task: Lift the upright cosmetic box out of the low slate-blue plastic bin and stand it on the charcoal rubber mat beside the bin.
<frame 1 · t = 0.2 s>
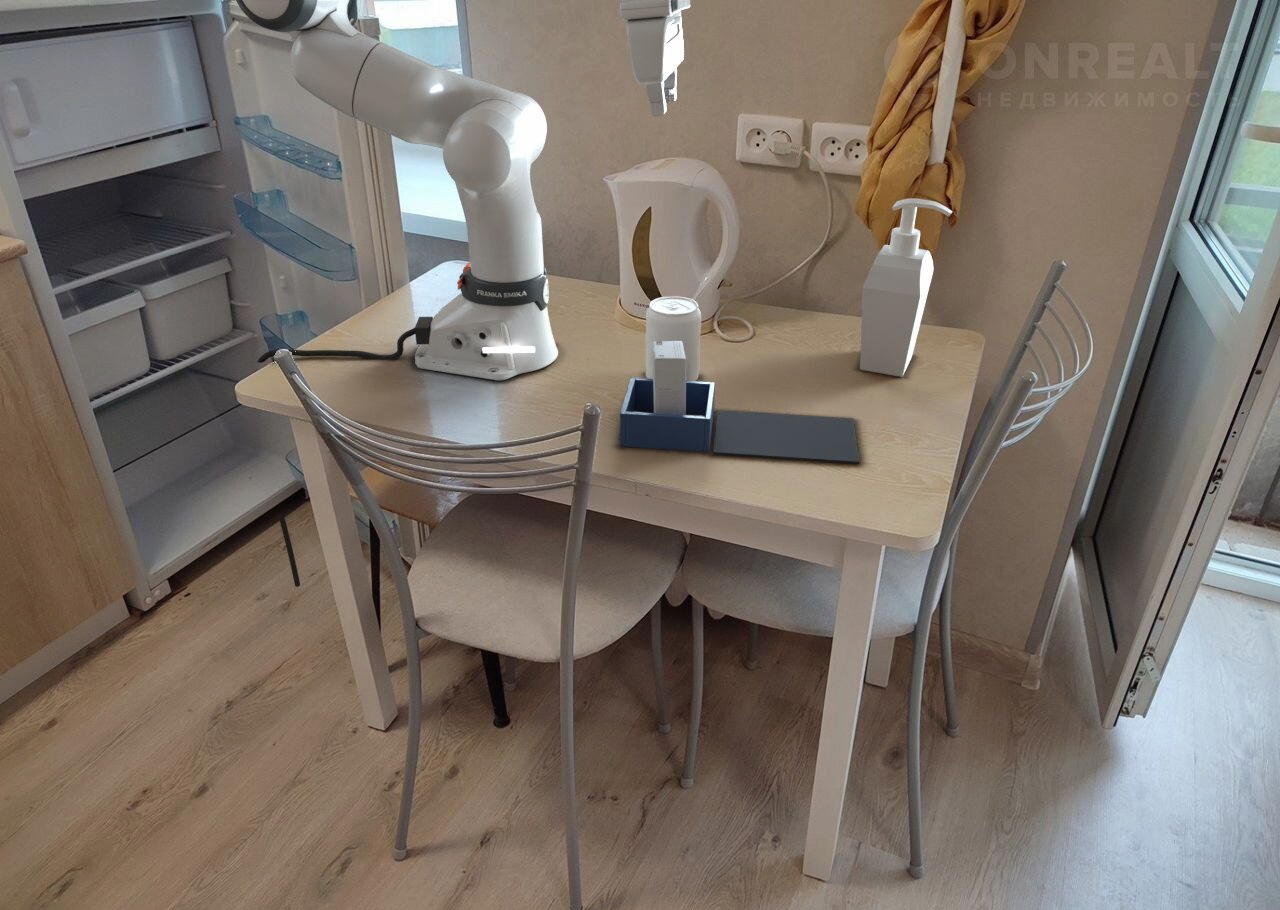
hand: (664, 108, 128), 39 cm above the table, tool pointing down, fingers open, 8 cm apart
bin: (668, 429, 130), on the table
soap bottle: (891, 364, 149), on the table
mat: (784, 437, 128), on the table
cosmetic box: (668, 430, 130), resting in bin
beverage can: (672, 379, 144), on the table
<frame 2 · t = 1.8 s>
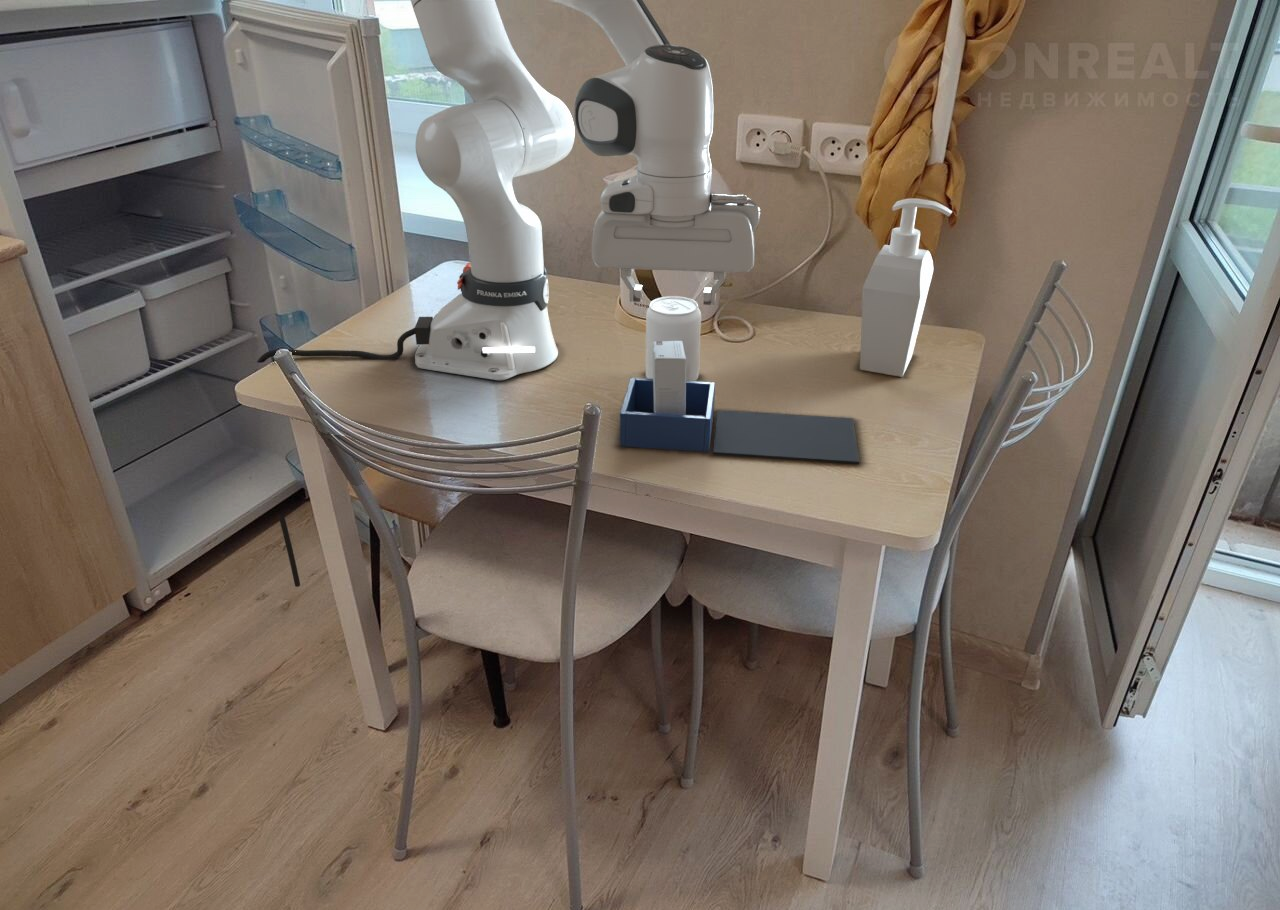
hand: (672, 301, 120), 19 cm above the table, tool pointing down, fingers open, 8 cm apart
nothing on the table moved.
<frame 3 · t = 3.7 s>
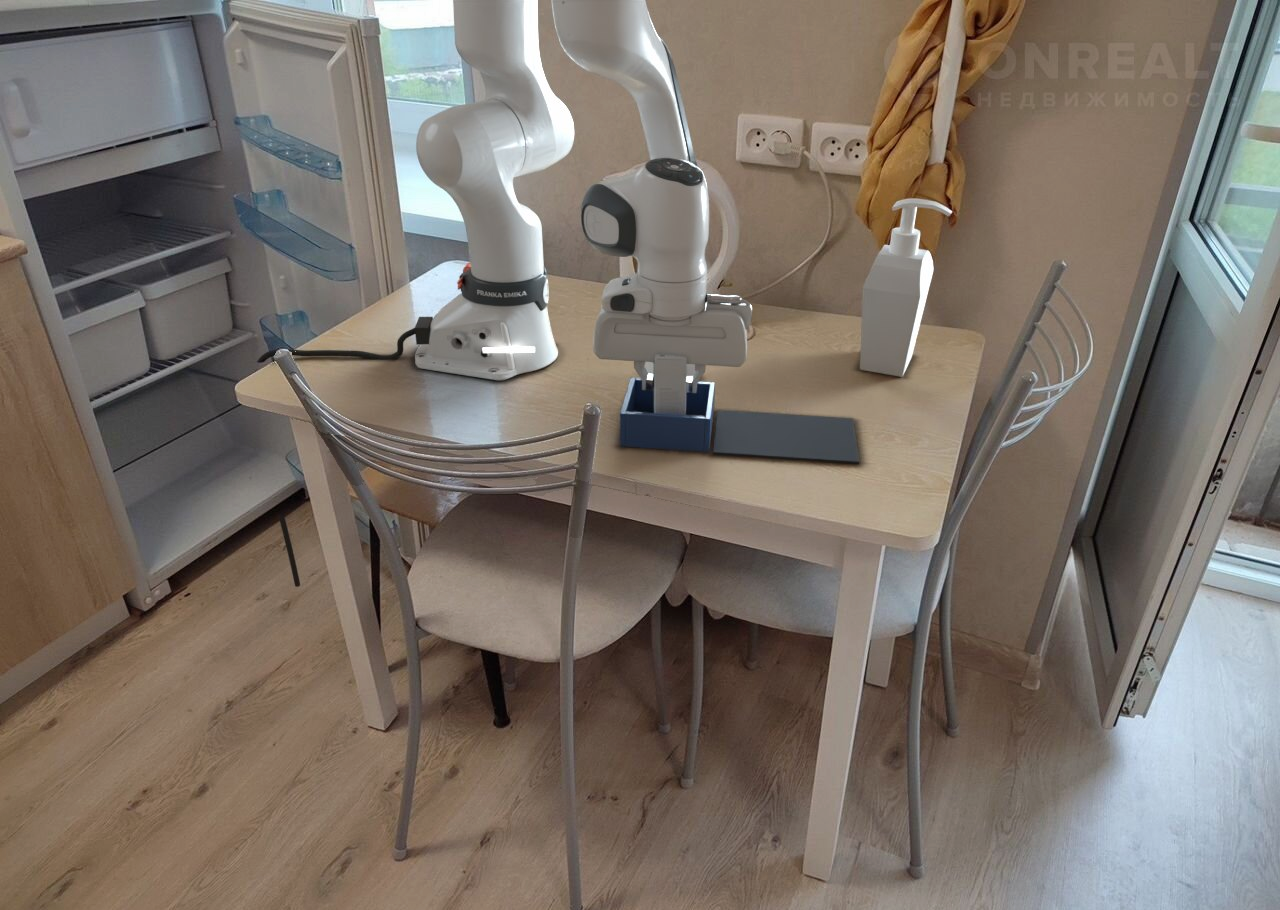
hand: (669, 389, 127), 6 cm above the table, tool pointing down, fingers closed on cosmetic box, 4 cm apart
cosmetic box: (668, 430, 130), resting in bin, touching gripper
everything else where it was.
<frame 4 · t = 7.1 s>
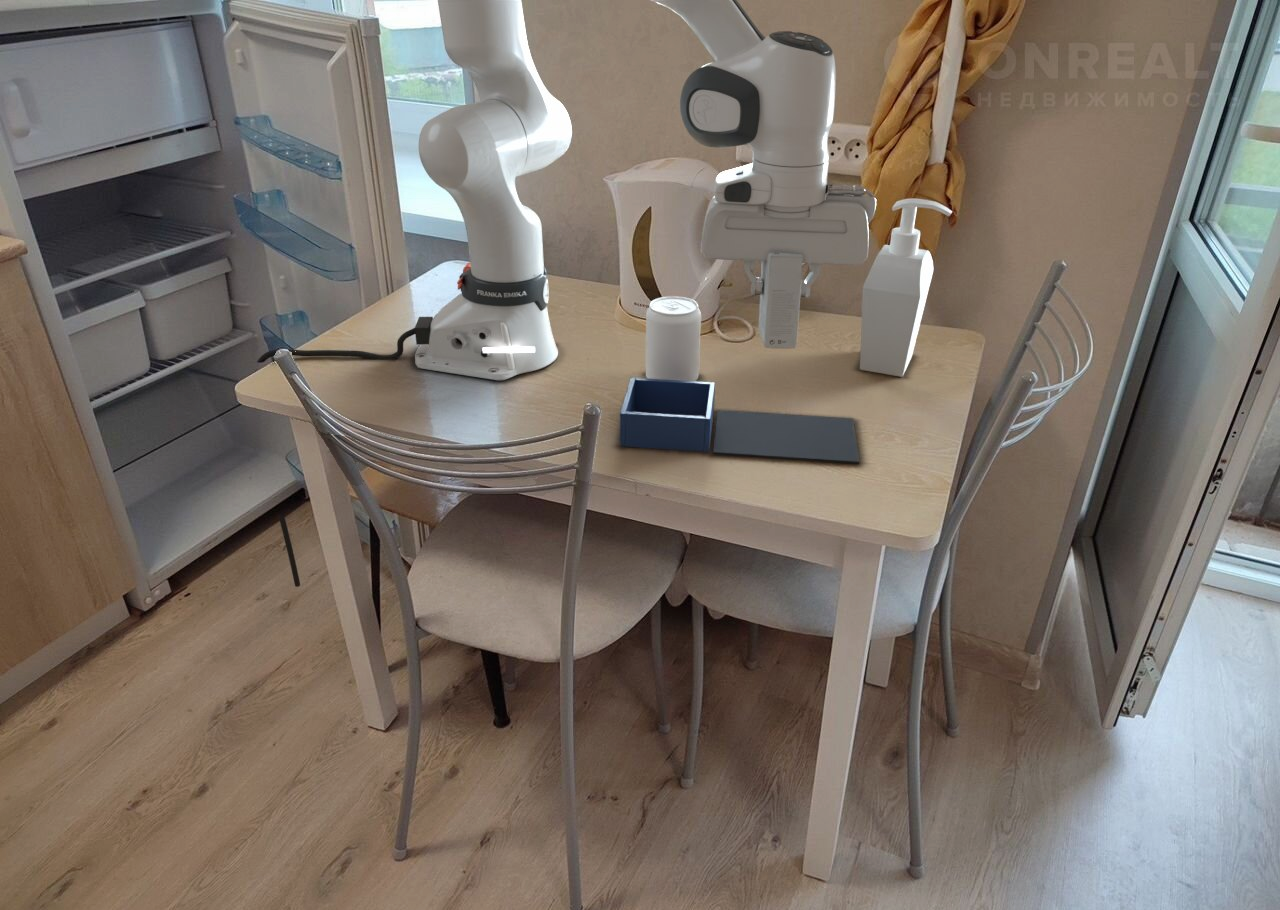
hand: (779, 294, 118), 20 cm above the table, tool pointing down, fingers closed on cosmetic box, 4 cm apart
cosmetic box: (775, 340, 121), point 14 cm above the table, touching gripper
everything else where it was.
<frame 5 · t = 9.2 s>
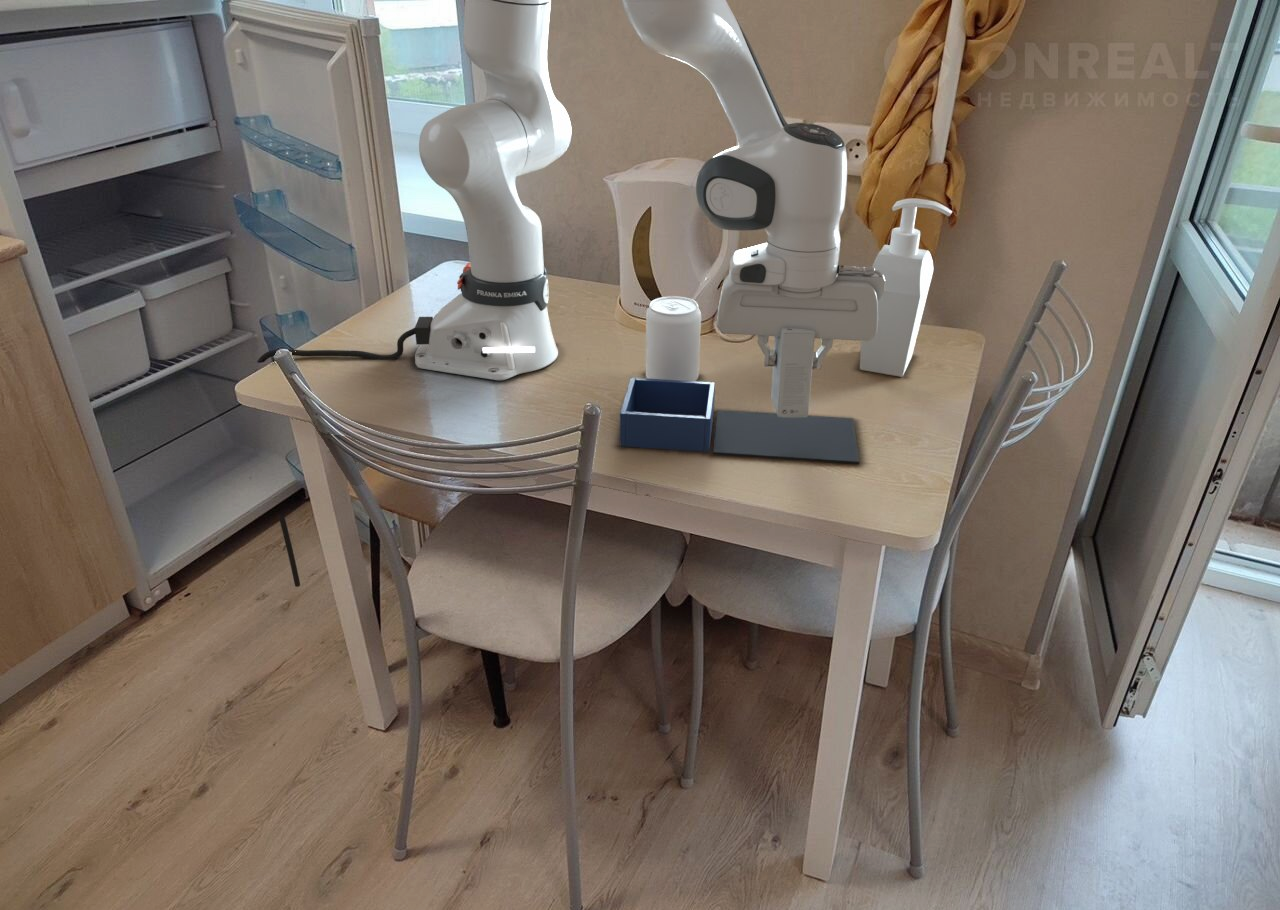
hand: (791, 365, 123), 11 cm above the table, tool pointing down, fingers closed on cosmetic box, 4 cm apart
cosmetic box: (787, 408, 126), point 4 cm above the table, touching gripper
everything else where it was.
when the fingers open (6 cm above the table, at t = 10.6 s): cosmetic box stays where it is, resting on mat.
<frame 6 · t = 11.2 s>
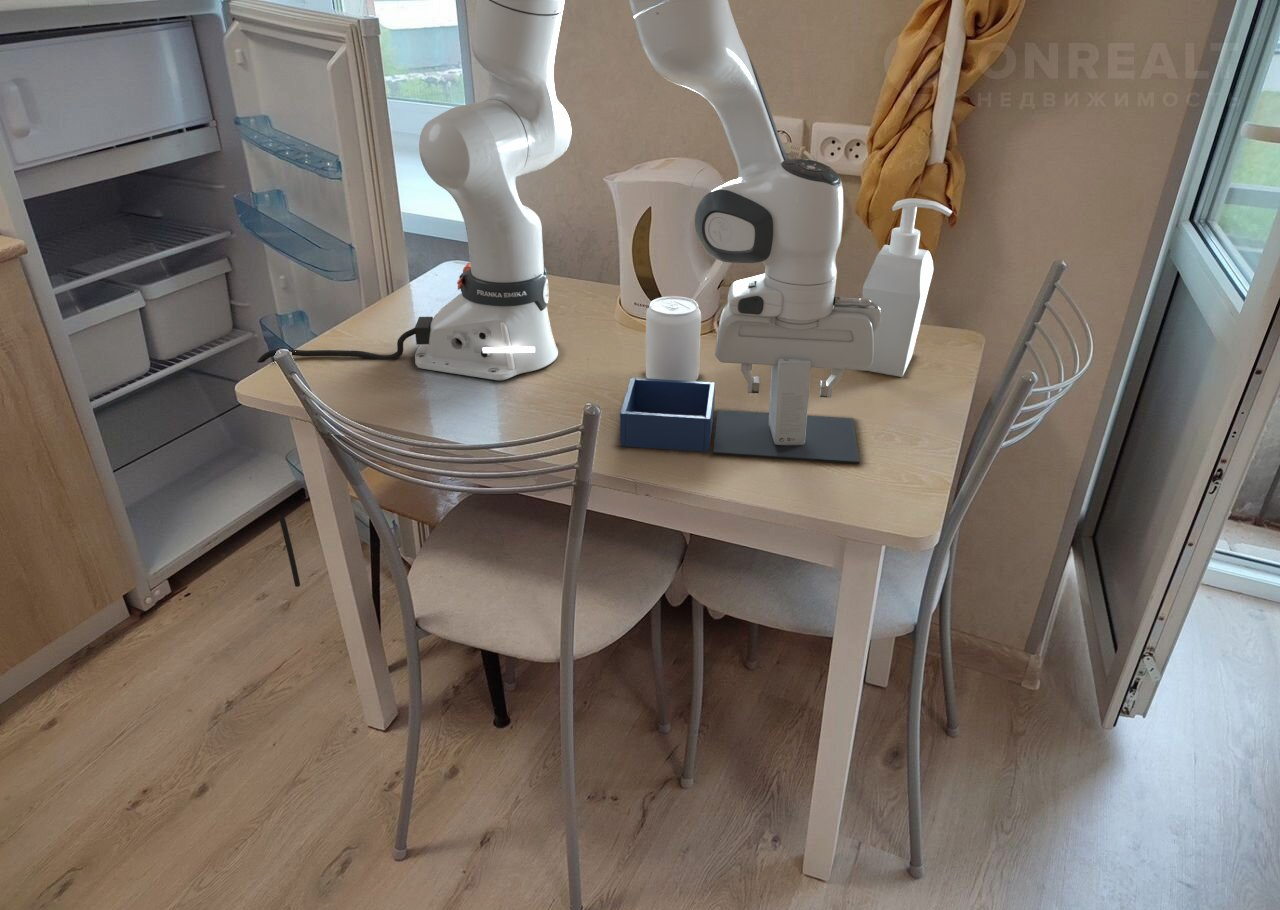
hand: (788, 393, 125), 7 cm above the table, tool pointing down, fingers open, 8 cm apart
cosmetic box: (784, 435, 128), resting on mat
everything else where it was.
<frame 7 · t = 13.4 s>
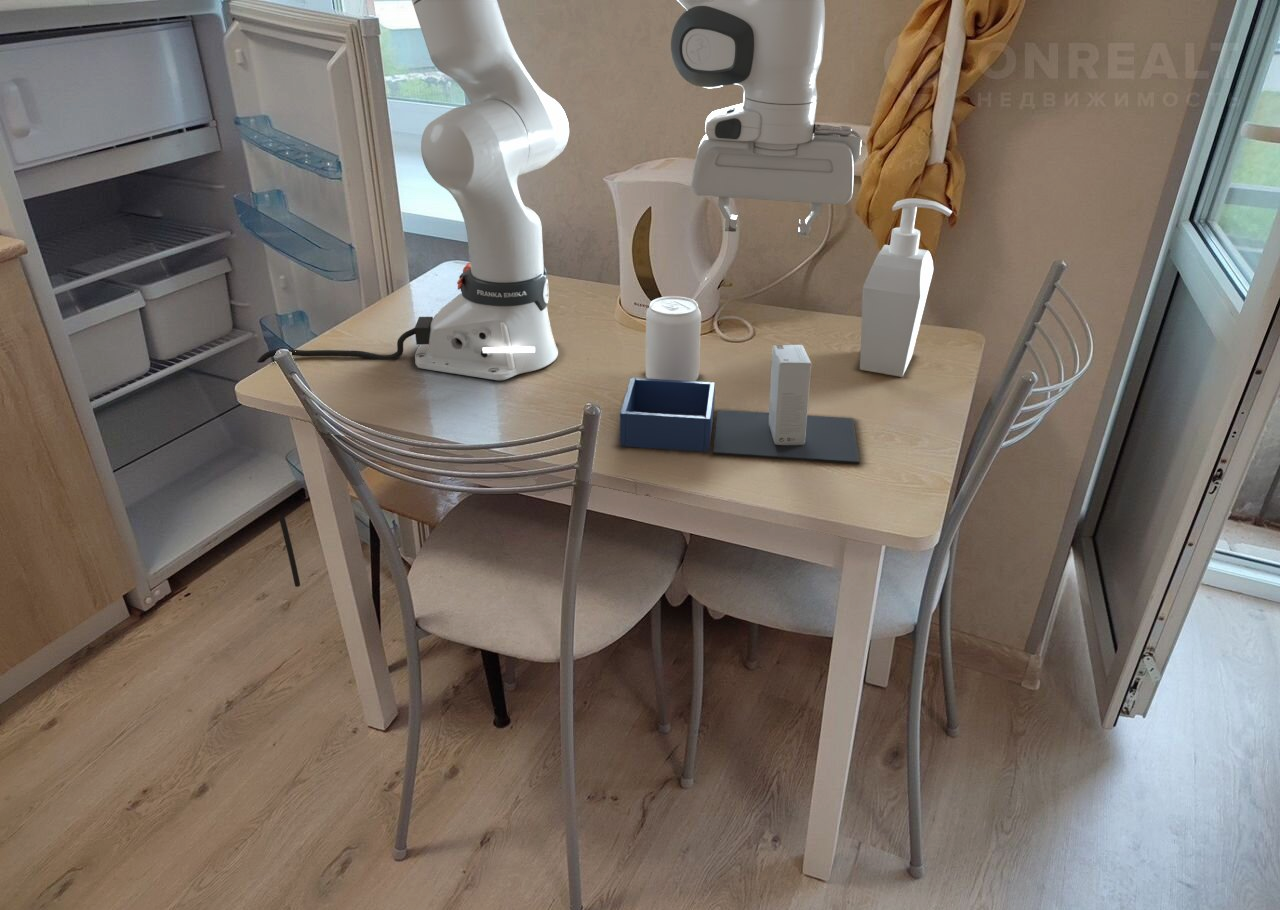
hand: (766, 232, 122), 26 cm above the table, tool pointing down, fingers open, 8 cm apart
nothing on the table moved.
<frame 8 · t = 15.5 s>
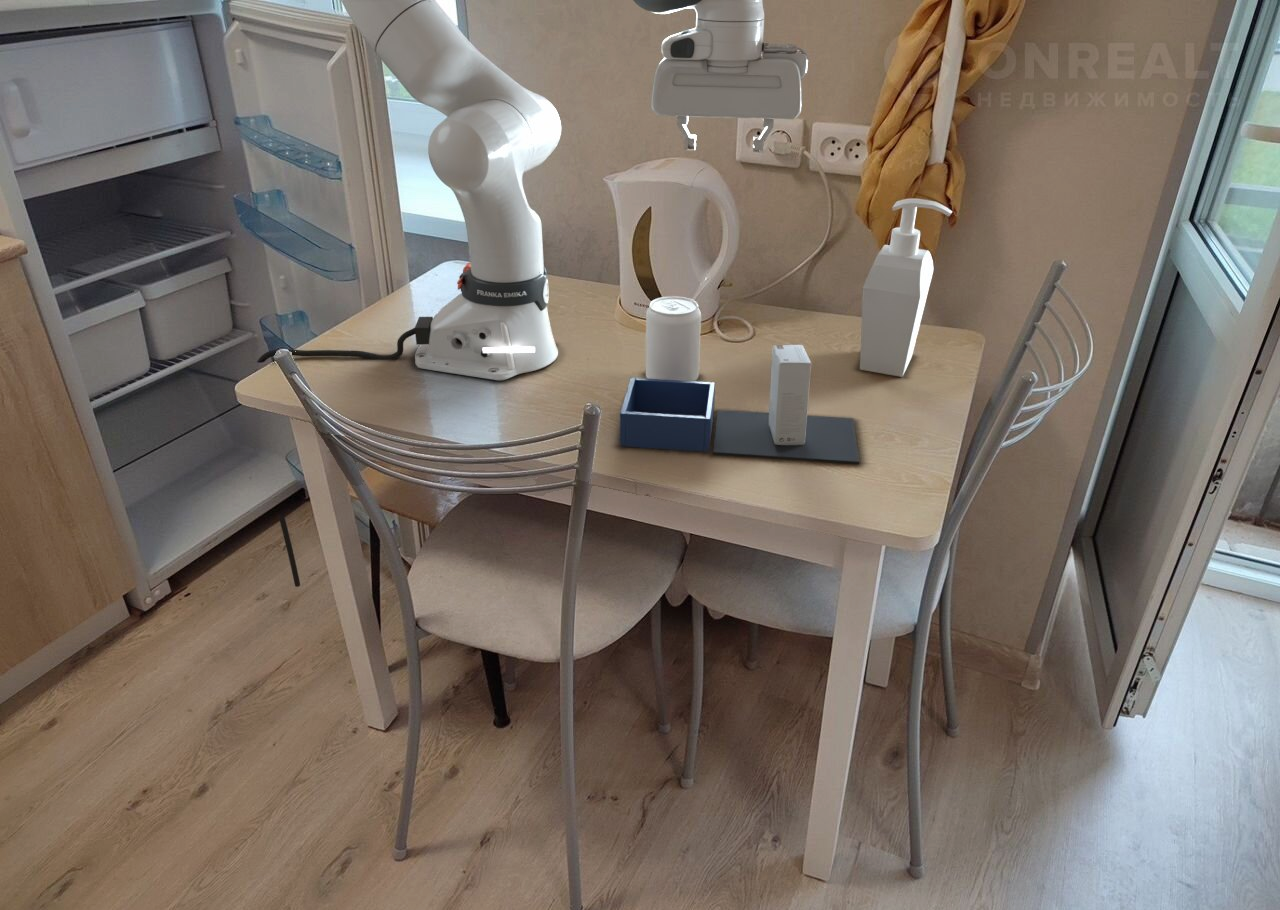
hand: (723, 150, 130), 33 cm above the table, tool pointing down, fingers open, 8 cm apart
nothing on the table moved.
at the end: cosmetic box inside the target area on the mat (0.0 cm from its centre), point 0.2 cm above the mat's base; cosmetic box tilted 0°; the gripper is holding nothing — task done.
